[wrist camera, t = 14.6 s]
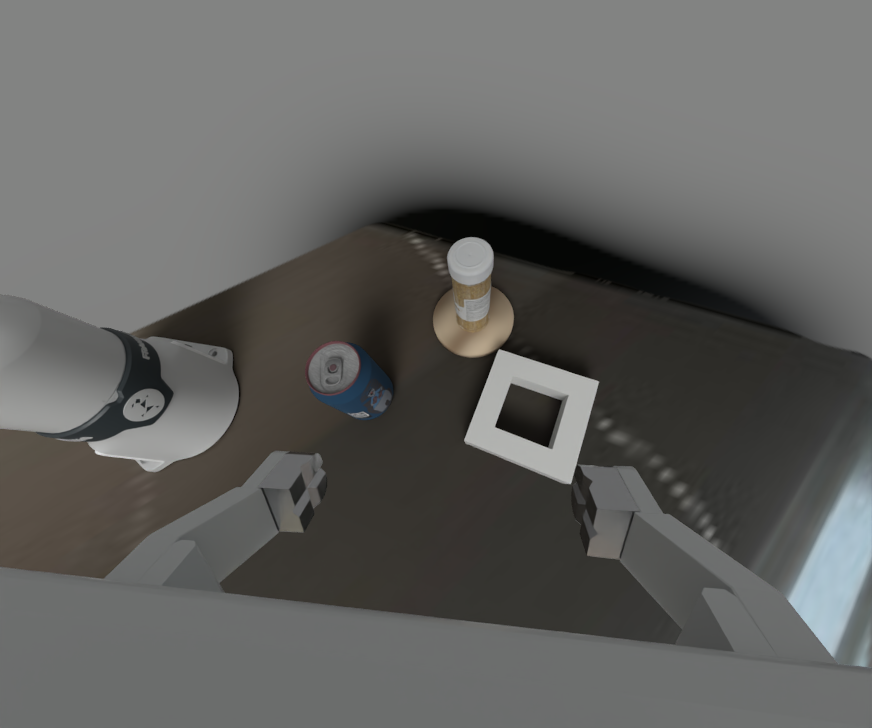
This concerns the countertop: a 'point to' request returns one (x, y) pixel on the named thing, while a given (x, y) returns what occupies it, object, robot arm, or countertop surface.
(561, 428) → the collar
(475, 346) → the disc
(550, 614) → the countertop surface
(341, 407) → the soda can
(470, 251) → the sprinkles bottle
